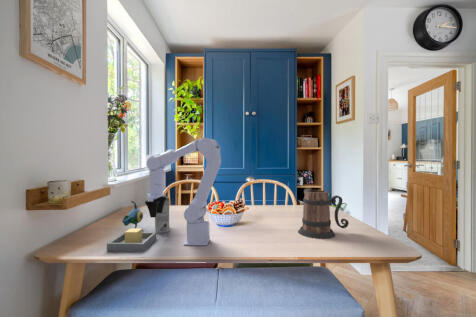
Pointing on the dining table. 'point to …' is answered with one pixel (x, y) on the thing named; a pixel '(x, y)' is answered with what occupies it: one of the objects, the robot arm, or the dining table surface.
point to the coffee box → (163, 218)
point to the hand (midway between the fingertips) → (156, 215)
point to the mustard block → (133, 235)
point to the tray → (120, 244)
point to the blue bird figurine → (133, 216)
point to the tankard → (319, 215)
